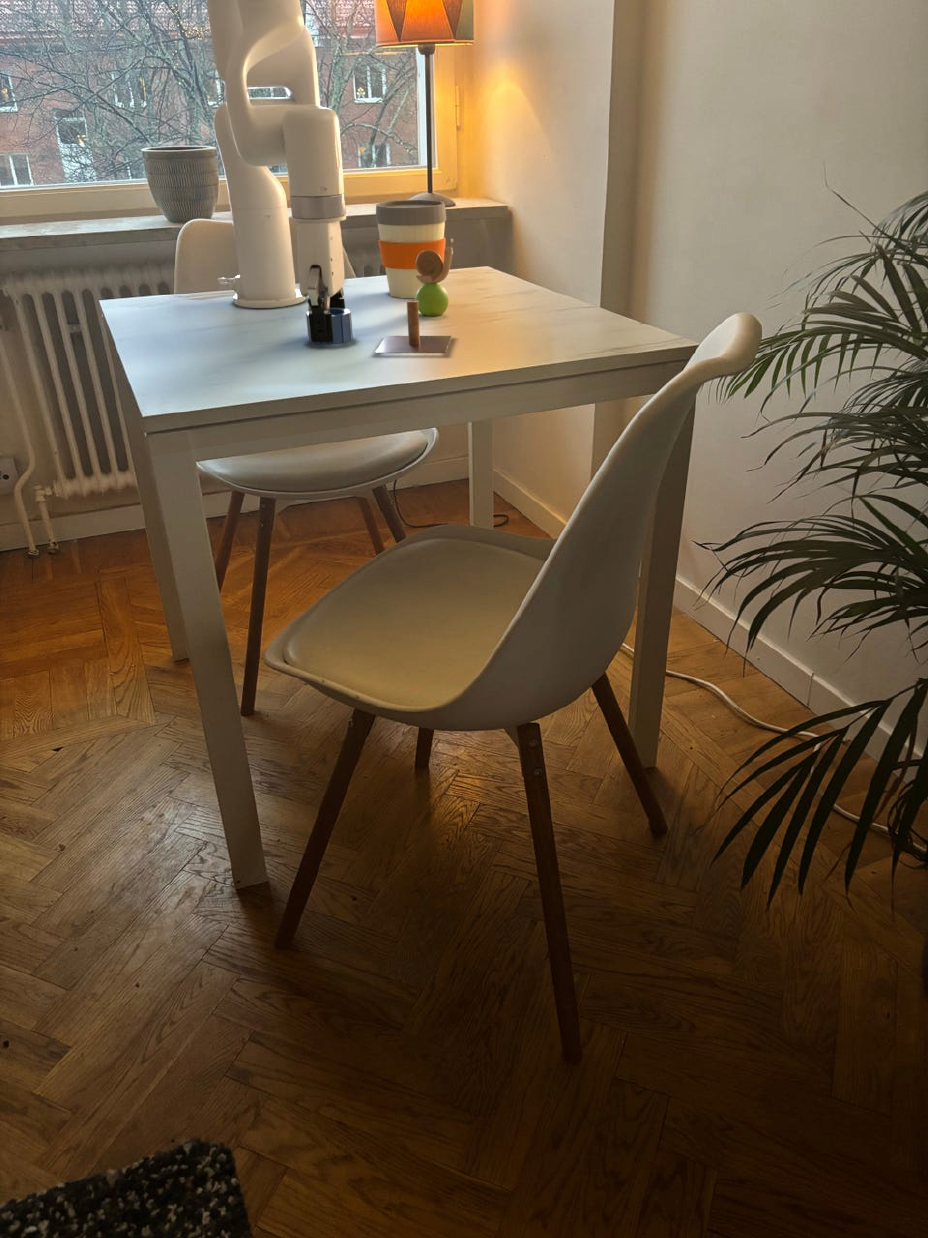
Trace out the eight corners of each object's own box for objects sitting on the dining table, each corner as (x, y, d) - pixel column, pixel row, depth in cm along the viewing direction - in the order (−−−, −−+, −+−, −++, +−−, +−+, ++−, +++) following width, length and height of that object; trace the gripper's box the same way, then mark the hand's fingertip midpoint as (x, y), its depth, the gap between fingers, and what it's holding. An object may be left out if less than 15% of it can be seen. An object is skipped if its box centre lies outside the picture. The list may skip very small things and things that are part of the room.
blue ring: (305, 348, 137) (302, 316, 134) (314, 337, 142) (311, 307, 140) (348, 348, 136) (345, 316, 134) (356, 337, 142) (353, 307, 139)
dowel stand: (375, 356, 132) (371, 308, 128) (385, 339, 140) (382, 293, 137) (445, 356, 131) (444, 308, 128) (451, 339, 140) (450, 293, 136)
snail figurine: (451, 321, 150) (449, 241, 144) (412, 320, 151) (408, 241, 145) (458, 314, 155) (456, 236, 149) (420, 313, 156) (417, 236, 150)
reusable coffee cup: (447, 299, 165) (445, 207, 157) (376, 300, 165) (370, 208, 158) (449, 285, 176) (447, 198, 168) (383, 287, 176) (377, 200, 169)
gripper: (305, 201, 138) (316, 320, 146) (276, 216, 123) (290, 348, 131) (356, 200, 137) (364, 320, 146) (332, 216, 122) (343, 348, 131)
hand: (329, 333), depth 139 cm, fingers open, 9 cm apart
